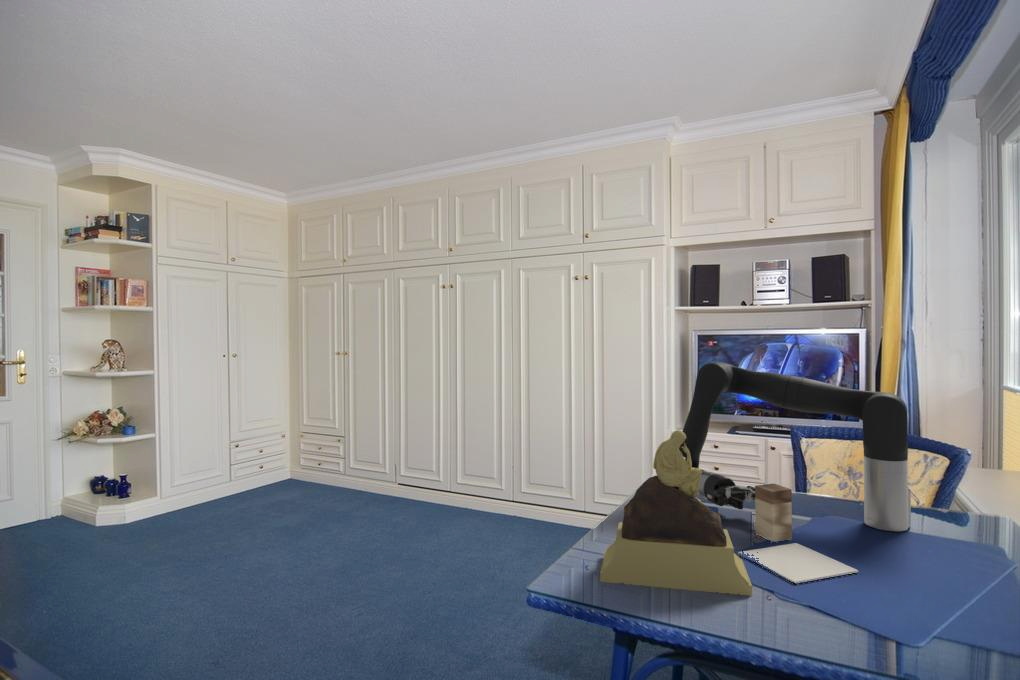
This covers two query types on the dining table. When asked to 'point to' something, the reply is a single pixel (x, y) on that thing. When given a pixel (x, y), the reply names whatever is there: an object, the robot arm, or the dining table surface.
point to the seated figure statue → (674, 533)
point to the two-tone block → (773, 512)
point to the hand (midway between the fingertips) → (756, 503)
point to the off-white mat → (799, 563)
